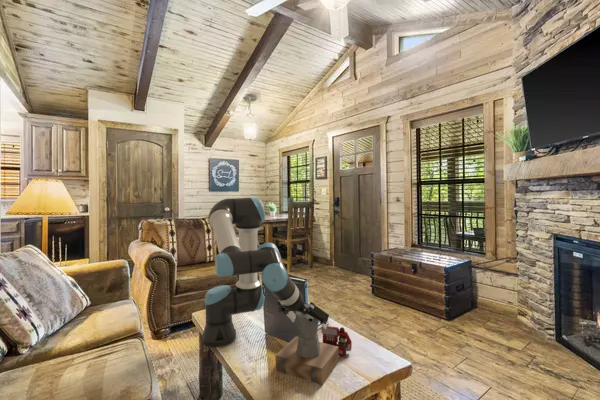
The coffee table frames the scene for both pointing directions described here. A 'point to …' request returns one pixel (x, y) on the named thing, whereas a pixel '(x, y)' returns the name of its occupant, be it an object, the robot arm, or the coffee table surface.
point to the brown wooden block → (307, 362)
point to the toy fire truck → (332, 338)
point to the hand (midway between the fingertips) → (309, 322)
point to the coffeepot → (307, 336)
